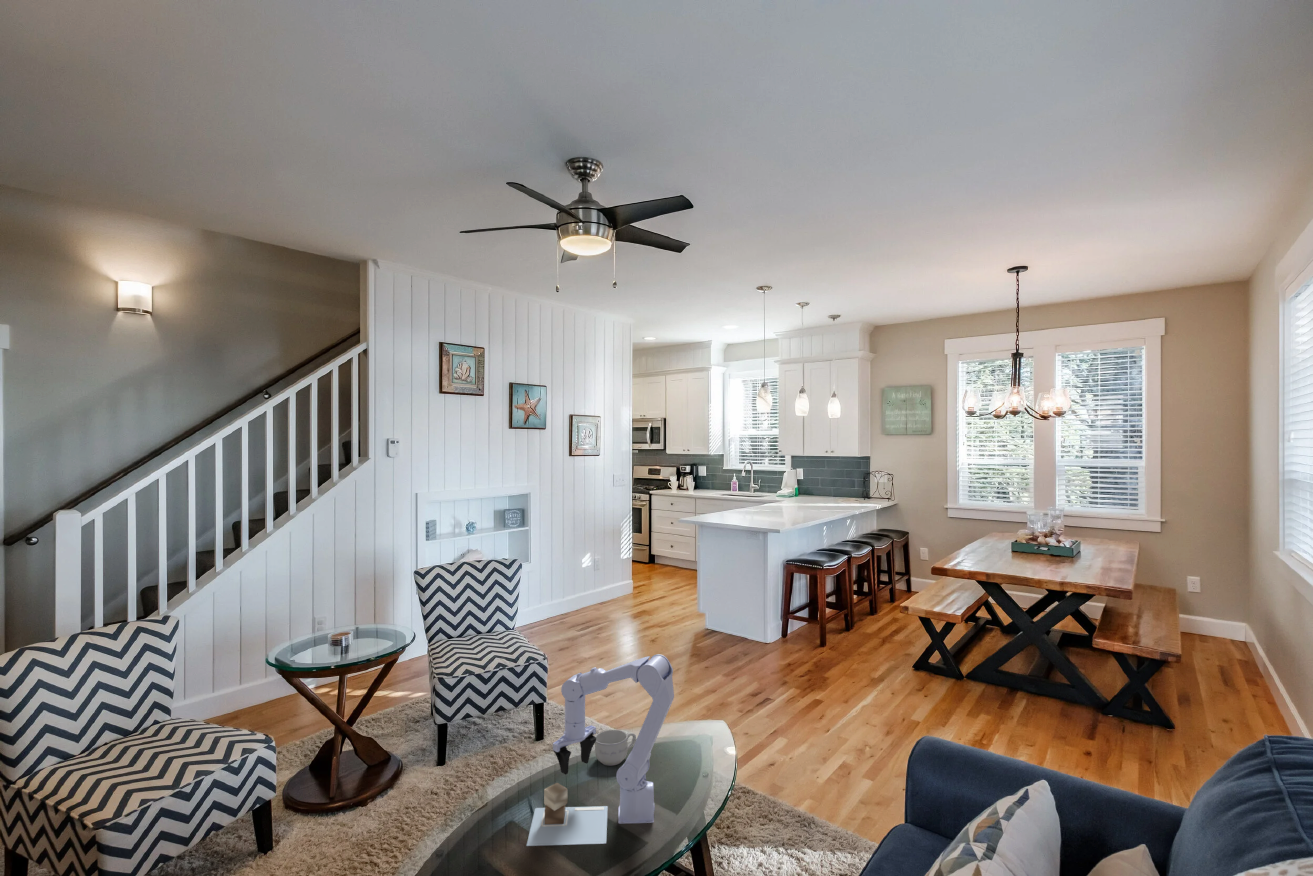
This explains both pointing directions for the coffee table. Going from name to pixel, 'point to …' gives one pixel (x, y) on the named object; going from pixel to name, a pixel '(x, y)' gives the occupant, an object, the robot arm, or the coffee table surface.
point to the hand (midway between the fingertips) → (574, 767)
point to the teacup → (612, 746)
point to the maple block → (555, 796)
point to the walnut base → (554, 815)
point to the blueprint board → (570, 827)
